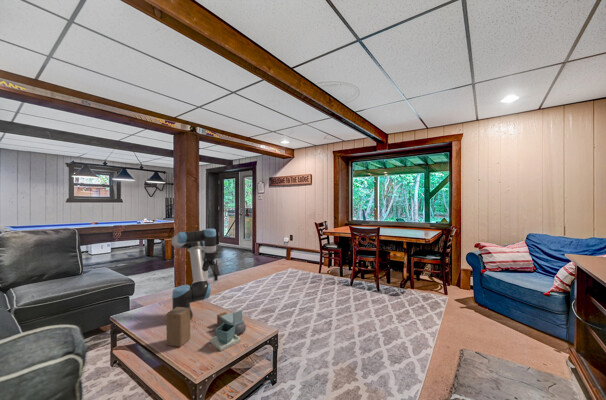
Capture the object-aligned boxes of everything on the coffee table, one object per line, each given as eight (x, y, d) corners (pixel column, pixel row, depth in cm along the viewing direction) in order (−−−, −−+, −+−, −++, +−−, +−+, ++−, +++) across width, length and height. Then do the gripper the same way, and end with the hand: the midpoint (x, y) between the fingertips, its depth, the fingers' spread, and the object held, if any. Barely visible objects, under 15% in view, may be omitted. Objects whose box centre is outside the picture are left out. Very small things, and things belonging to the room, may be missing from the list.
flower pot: (227, 347, 152) (226, 332, 152) (215, 343, 155) (214, 329, 155) (236, 339, 160) (235, 325, 160) (224, 336, 163) (224, 322, 163)
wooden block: (180, 347, 153) (180, 314, 152) (165, 345, 155) (165, 313, 154) (191, 338, 163) (190, 307, 162) (177, 336, 165) (176, 306, 164)
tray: (210, 342, 158) (210, 338, 158) (229, 333, 168) (229, 330, 168) (220, 351, 149) (220, 347, 149) (240, 341, 159) (240, 338, 159)
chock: (217, 324, 180) (217, 314, 180) (224, 321, 185) (224, 311, 184) (220, 327, 177) (220, 317, 177) (228, 323, 181) (228, 314, 181)
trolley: (218, 327, 175) (218, 305, 175) (230, 323, 182) (230, 301, 182) (233, 338, 162) (233, 314, 162) (245, 333, 169) (245, 310, 168)
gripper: (196, 249, 179) (197, 279, 179) (213, 255, 161) (214, 289, 162) (207, 248, 184) (207, 277, 185) (224, 253, 167) (225, 285, 167)
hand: (210, 282), depth 173 cm, fingers open, 13 cm apart
